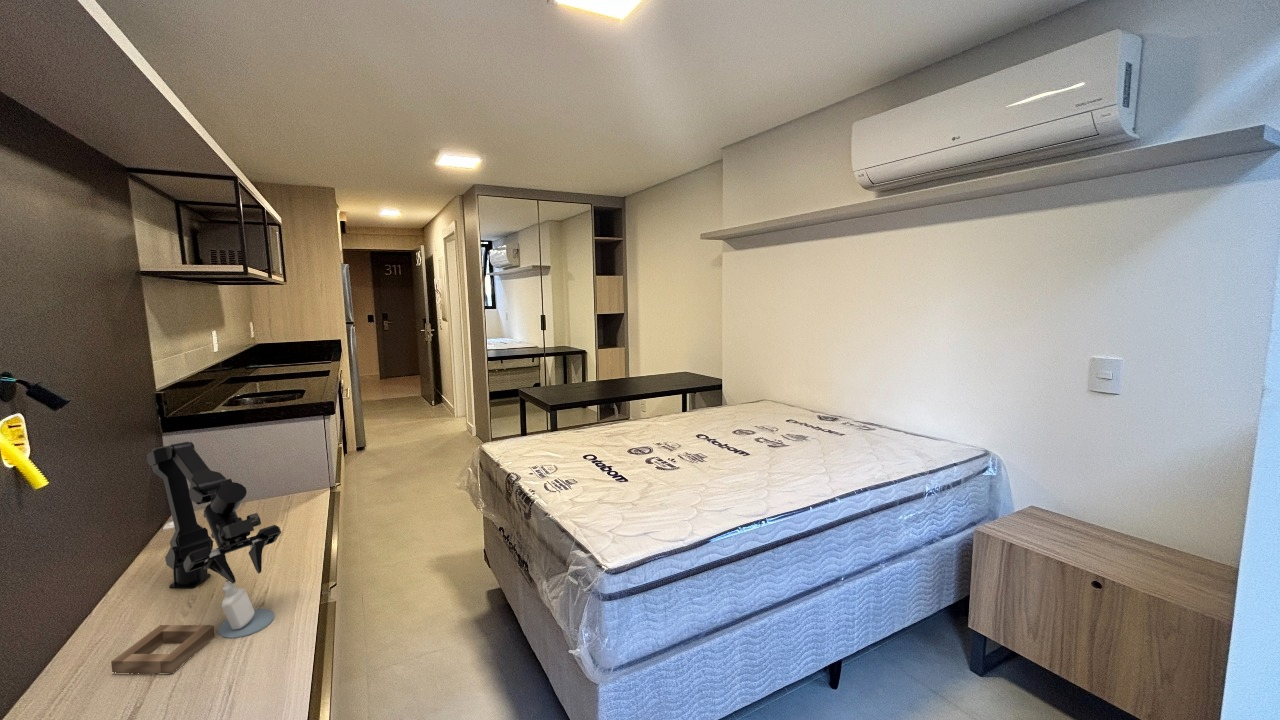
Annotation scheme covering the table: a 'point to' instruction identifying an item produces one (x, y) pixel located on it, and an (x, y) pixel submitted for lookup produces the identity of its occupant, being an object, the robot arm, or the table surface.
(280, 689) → the table surface
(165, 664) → the walnut socket block
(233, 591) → the eye dropper bottle
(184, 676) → the table surface
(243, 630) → the slate-blue rubber mat
